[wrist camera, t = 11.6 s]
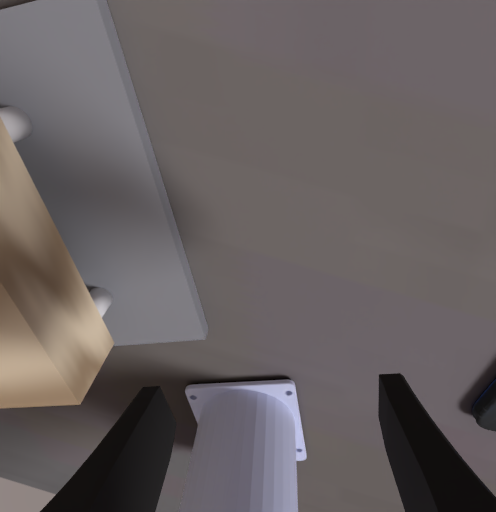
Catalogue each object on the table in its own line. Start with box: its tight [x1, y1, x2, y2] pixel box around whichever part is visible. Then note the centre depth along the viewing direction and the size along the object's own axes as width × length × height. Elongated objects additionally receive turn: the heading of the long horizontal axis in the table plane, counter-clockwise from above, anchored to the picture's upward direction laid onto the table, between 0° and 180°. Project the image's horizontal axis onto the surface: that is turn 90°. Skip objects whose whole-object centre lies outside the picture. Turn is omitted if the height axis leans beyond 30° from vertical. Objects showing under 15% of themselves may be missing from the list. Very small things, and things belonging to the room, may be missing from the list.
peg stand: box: [0, 0, 208, 346], centre depth 18 cm, size 18×14×3 cm
